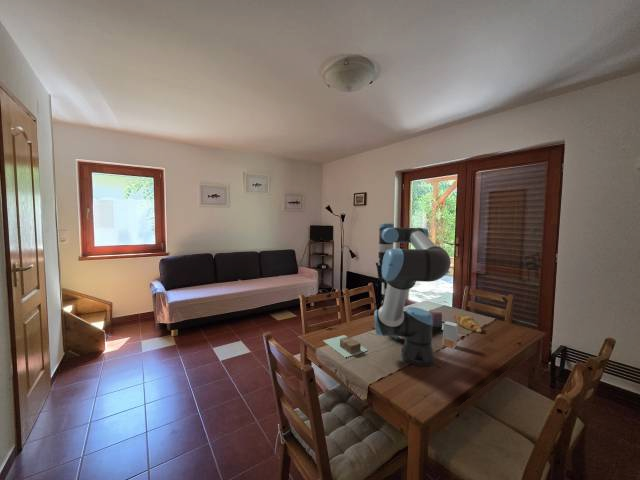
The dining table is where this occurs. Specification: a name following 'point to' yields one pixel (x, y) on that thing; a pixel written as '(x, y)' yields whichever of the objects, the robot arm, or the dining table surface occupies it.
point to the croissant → (468, 323)
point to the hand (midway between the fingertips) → (384, 294)
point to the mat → (335, 345)
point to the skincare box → (450, 334)
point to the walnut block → (350, 345)
